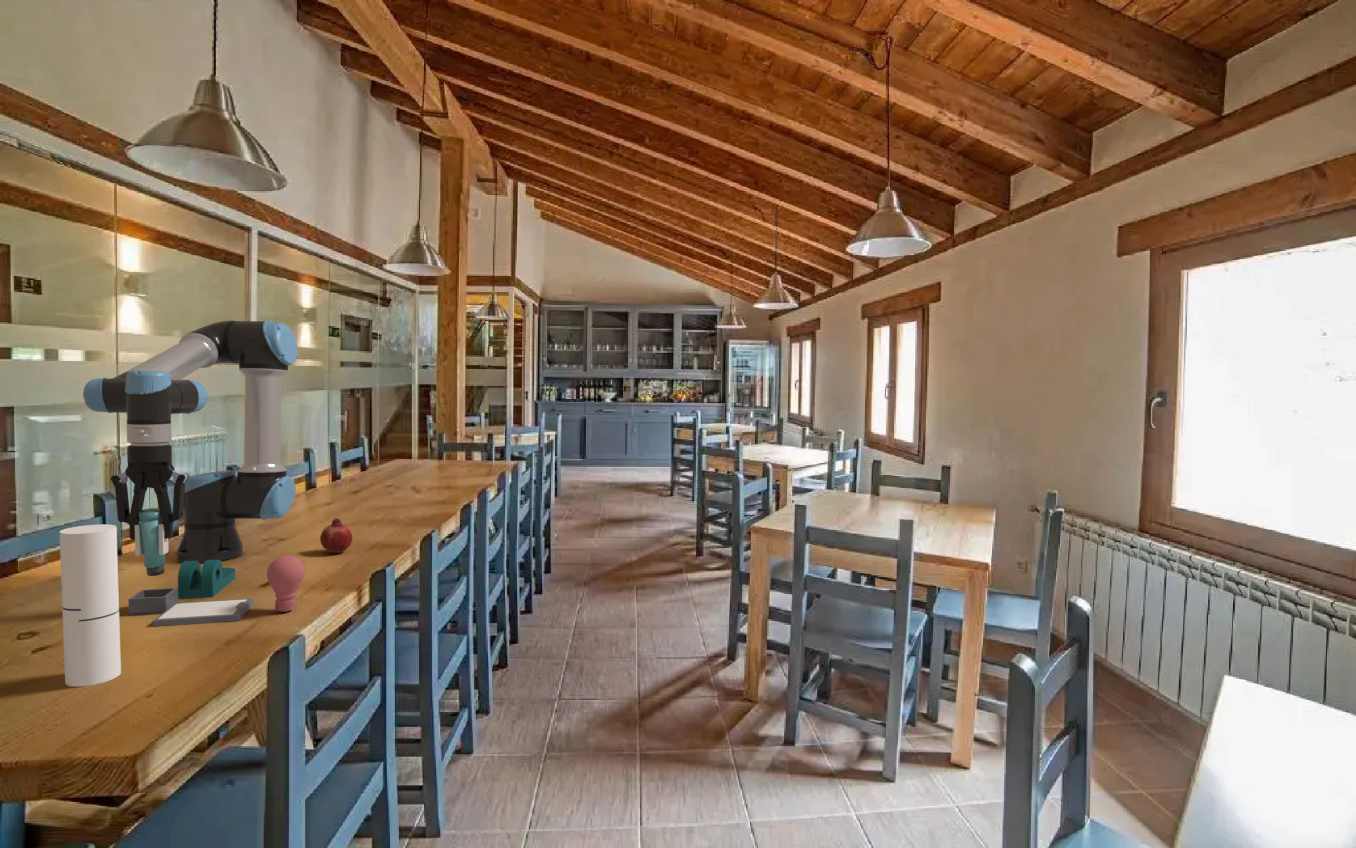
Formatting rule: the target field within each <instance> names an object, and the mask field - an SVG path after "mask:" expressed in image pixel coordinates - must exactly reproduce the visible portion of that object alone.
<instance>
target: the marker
mask: <svg viewBox="0 0 1356 848" xmlns="http://www.w3.org/2000/svg"><path fill="white" fill-rule="evenodd" d="M139 520H140V522H139V523H140V526H141V536H142V546H143V554H142V556H143V564H144V567H145V568H146V575H147V576H148V577H157V576H160V575H161V576H162V574H164V573H165V565H166V555H165V554H164V555H159V528H158V525H159V524H161V522H163V521H162V517H161V513H160V508H159V507H158V508H157V507H150V508H145V509H142V510H141V511H139Z"/></svg>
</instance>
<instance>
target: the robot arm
mask: <svg viewBox="0 0 1356 848" xmlns="http://www.w3.org/2000/svg"><path fill="white" fill-rule="evenodd" d="M298 352H299V351H298V344H297V339H296V337H295V334H294V333H293V331H292V330H291V328H290V327H289V326H288V325H287V324H285V323H282V322H276V321H269V320H268V321H267V320H265V321H264V320H260V321H259V320H257V321H255V320H247V321H245V320H222V321H219V322H214V323H211V324H207V325H204V326H202V327H199V328H197V329H195V330H193V331H190V332H189V333H186V334H185V335H183V336H182V337H180V340H179V342H178V343H177V344H175V345H173V346H172V347H170V348H168V349H166V350H164V351H162V352H160V353H158V354H156V355H154V356H152V357H151V358H149V359H147V360H145V361H144V362H141V363H140V364H137V365H136V366H134V367H132V368H130V369H128V370H126V371H124V372H122V373H121V374H118V375H116V376H114V377H111V378H107V377H102V378H93V379H90V380H89V381H87V383H86V384H85V385H84V388H83V392H82V395H83V396H82V397H83V399H84V403H85V406H86V407H87V408H88V409H89V410H91V411H94V412H97V413H108V414H113V413H114V414H115V413H116V414H118V413H121V414H125V413H126V441H127V443H128V444H130V445H128V446H127V448H126V450H127V451H126V452H127V453H126V455H127V456H126V457H127V459H126V460H127V461H126V462H127V467H126V469H125V471H124V472H122V473H118V474H115V475H112V476H111V477H110V481H111V483H112V484H113V487H114V492H115V502H116V513H117V520H118V522H119V523H126V524H128V527H129V539H130V540H131V541H132V540H134V544H135V545H134V549H135V550H134V552H135V557H140V556H143V546H142V536H141V526H140V520H139V511H141V510H144V509H143V508H144V504H145V498H146V493H147V490H148V488H150V489H153V491H154V494H155V495H156V501H157V503H158V508H159V509H160V513H161V520H162V522H161V524H159V525H158V528H159V555H164V554H167V553H169V539H171V538H173V536H174V522H175V521H178V520H180V519H182V518H183V521H184V522H183V524H184V525H183V527H184V531H183V534H182V537H181V539H180V541H179V545H178V548H177V550H176V557H177V558H176V560H177V561H179V562H181V563H183V562H184V561H198V562H199V563H201V564H204V563H205V561H206V560H221V561H226V560H230V559H234V558H237V557H240V556H242V555H243V554H244V544H243V542H242V540H241V537H240V534H239V532H238V530H237V527H236V520H239V519H240V520H263V521H266V520H276V519H280V518H282V517H284V516H286V515H287V514H288V512H289V511H290V510H291V508H292V506H293V504H294V500H295V497H296V484H295V480H294V478H292V477H290V476H289V475H287V471H288V470H287V469H286V468H285V466H283V465H282V463H281V453H282V452H281V451H282V450H281V448H282V445H281V444H282V439H281V438H282V388H283V385H282V383H283V381H282V378H283V377H284V376H286V374H287V373H289V366H291V365H294V364H295V362H297V358H298V354H299V353H298ZM216 364H237V365H238V370H239V371H240V373H242V374H243V375H244V376H245V380H244V381H245V383H244V384H245V385H244V386H245V389H244V391H245V392H244V393H245V394H244V395H245V396H244V397H245V398H244V448H243V449H244V451H243V452H244V457H243V459H244V460H243V462H244V464H242V466H241V467H240V468H239V469H238V470H237V476H236V473H235V471H234V470H228V469H227V470H219V471H212V472H211V471H210V472H204V473H199V474H193V475H189V474H188V472H187V473H186V472H184V473H182V472H180V471H177V470H175V467H174V466H173V446H172V445H171V444H169V443H170V442H172V441H173V440H172V438H173V437H172V415H180V414H186V415H187V414H188V415H190V414H191V413H192V414H193V413H196V412H199V411H200V410H203V408H204V407H205V406H206V404H207V403H208V391H207V389H206V388H205V386H203V385H202V383H200V382H198V381H195V380H191V379H184V378H185V377H187V376H189V375H191V374H192V373H194V372H195V371H197V370H199V369H206V368H207V369H208V368H210V367H212V366H214V365H216ZM171 478H172V480H173V482H174V485H173V500H172V501H173V502H172V505H171V501H170V498H169V497H170V496H169V493H168V481H169V480H171ZM129 480H130V481H131V482H132V483H133V484H134V485H133V490H132V491H133V494H132V495H133V496H132V501H131V507H130V501H129V491H128V481H129Z"/></svg>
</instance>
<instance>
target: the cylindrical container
mask: <svg viewBox="0 0 1356 848" xmlns="http://www.w3.org/2000/svg"><path fill="white" fill-rule="evenodd" d="M117 530H118V529H117V525H114V524H106V523H105V524H104V523H103V524H86V525H79V526H72V527H68V528H65V529H61V530H60V531H59V551H60V552H59V553H60V579H61V580H60V581H61V605H62V608H61V609H62V633H63V634H62V635H63V655H64V656H63V658H64V659H63V660H64V662H63V663H64V684H65V686H68V687H72V688H73V687H74V688H77V687H78V688H79V687H88V686H94V685H99V684H103V683H106V682H109V681H111V680H113V679H115V678H117V677H119V676H120V675H121V674H122V665H121V664H122V663H121V660H122V659H121V658H122V657H121V635H120V634H121V633H120V632H121V629H120V602H119V601H120V599H119V598H120V597H119V595H120V594H119V567H118V566H119V564H118V562H119V561H118V535H117Z"/></svg>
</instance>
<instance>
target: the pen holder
mask: <svg viewBox="0 0 1356 848" xmlns="http://www.w3.org/2000/svg"><path fill="white" fill-rule="evenodd" d="M175 603H179V599H178V587H170V588H167V587H165V588H151V589H141V590H140V591H138V592H137V593H135V594H134V595H132V596H131V597H129V598H128V616H130V617H132V616H142V615H143V616H145V615H158V614H159V615H161V614H162V613H163V612H165V611H166V610H167V609H168V608H170V607H171V606H172V605H174V604H175Z"/></svg>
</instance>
